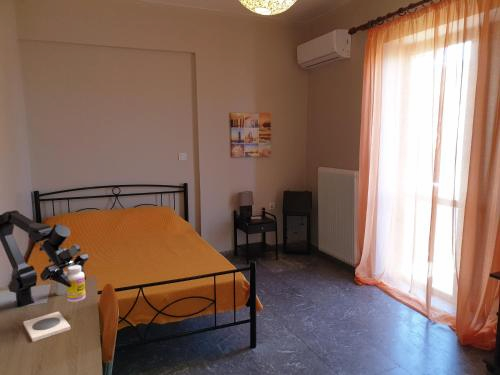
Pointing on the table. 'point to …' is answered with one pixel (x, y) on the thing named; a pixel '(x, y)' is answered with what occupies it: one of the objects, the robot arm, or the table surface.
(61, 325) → the base
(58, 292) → the power adapter
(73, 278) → the supplement bottle
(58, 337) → the table surface
